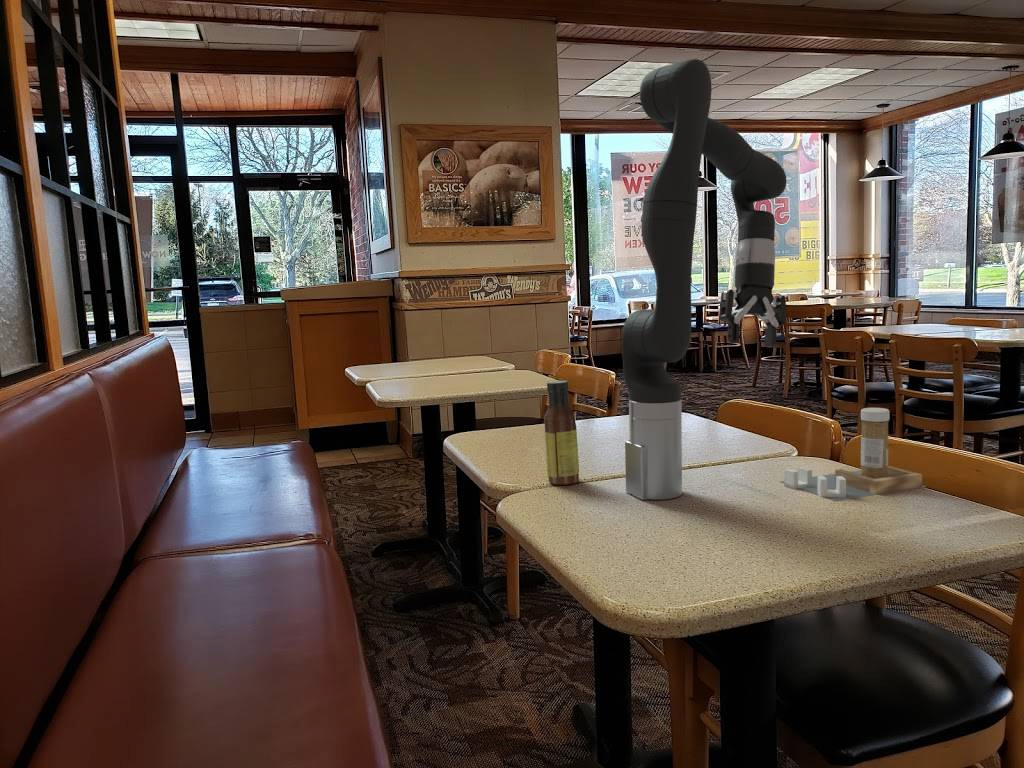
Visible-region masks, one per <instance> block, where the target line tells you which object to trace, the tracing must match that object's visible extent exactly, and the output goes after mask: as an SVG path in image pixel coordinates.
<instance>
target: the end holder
mask: <svg viewBox="0 0 1024 768" xmlns="http://www.w3.org/2000/svg"><path fill="white" fill-rule="evenodd" d="M887 470H888V472H887V475H888V476H887V477H886V478H879V479H874V478H870V477H867V476H863V475H860V474H856V473H853V472H850V471H849V470H846V469H841V468H840V469H839V468H838V469H837V468H836V469H835V471H834V474H835V482H836V476H843V477H844V478H845V479H846V485H848V486H851V487H854V488H857V489H861V490H864V491H867V492H870V493H873V494H878V495H880V494H879V493H885V492H891V493H893V492H892V491H898V490H904V491H906V490H905V489H911V488H917V487H922V485H923V474H922V473H918V472H914V471H911V470H908V469H907V470H906V469H903V468H900V467H895V466H891V465H888V468H887ZM917 489H918V488H917ZM911 490H912V489H911ZM898 492H899V491H898ZM885 494H886V493H885Z"/></svg>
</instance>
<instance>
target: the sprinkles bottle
mask: <svg viewBox="0 0 1024 768" xmlns="http://www.w3.org/2000/svg"><path fill="white" fill-rule="evenodd" d="M860 419H861V421H860V422H861V436H860V470H861V475H863V476H867V477H870V478H874V479H879V478H886V477H887V476H888V475H887V472H888V470H887V468H888V466H889V422H890V419H891V418H890V410H889V409H888V408H885V407H884V408H883V407H865V408H861V409H860Z"/></svg>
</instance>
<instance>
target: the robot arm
mask: <svg viewBox="0 0 1024 768" xmlns="http://www.w3.org/2000/svg"><path fill="white" fill-rule="evenodd" d="M712 92H713V91H712V79H711V73H710V70H709V68H708V66H707V65H706V63H705V62H704V61H702V60H701V59H697V58H694V59H693V58H692V59H686V60H682V61H679V62H674V63H671V64H669V65H668V64H667V65H665V66H661V67H658V68H655V69H653V70H651V71H648V72H647V73H646V74H645V76H643V78H642V81H641V82H640V85H639V99H640V100H639V101H640V104H641V107H642V109H643V111H644V113H645V114H646V116H647V117H648V118H649V119H650V120H651V121H652V122H654V123H656V124H657V125H658V126H660V127H661V128H663V129H665V130H666V131H668V132H670V133H671V134H672V137H671V140H670V142H669V143H670V144H669V146H668V148H667V151H666V153H665V154H664V157H662V160H661V161H660V163H659V165H658V167H657V169H656V170H655V172H654V174H653V175H652V177H651V179H650V181H649V182H648V185H647V187H646V189H645V192H644V195H643V196H644V197H643V203H642V214H641V230H640V231H641V237H642V242H643V245H644V248H645V250H646V251H645V252H646V253H647V256H648V258H649V260H650V262H651V265H652V268H653V271H654V273H655V280H656V283H655V284H656V292H655V293H656V294H655V306H654V309H653V308H650V309H638V310H635V311H633V312H632V313H630V314H629V315H628V316H627V318H626V320H625V322H624V323H623V327H622V333H621V356H622V367H623V378H624V379H623V380H624V383H625V384H624V385H625V386H626V389H627V392H628V414H629V415H628V425H629V426H628V427H629V430H628V431H629V433H628V434H629V440H625V441H624V442H625V443H624V452H625V453H624V454H625V460H624V461H625V462H624V463H625V492H626V493H628V494H629V495H631V494H632V495H631V496H634V497H636V498H638V499H640V500H670V499H676V498H678V497H680V496H681V495H682V494H683V467H682V466H683V461H682V460H683V459H682V458H683V456H682V455H683V450H682V449H683V448H682V447H683V445H682V443H683V442H682V440H683V437H682V432H683V431H682V430H683V428H682V424H683V423H682V422H683V421H682V419H683V418H682V417H683V416H682V412H683V411H682V408H683V407H682V387H681V384H680V383H679V382H678V381H677V380H676V379H674V378H673V377H671V375H669V373H668V372H667V371H666V369H665V363H667V364H668V363H669V364H672V363H677V362H678V361H680V360H681V359H683V358H684V356H685V355H686V353H687V351H688V349H689V347H690V342H691V337H692V270H693V268H692V267H693V254H694V253H693V252H694V240H695V233H696V232H695V231H696V224H697V223H696V222H697V213H698V212H697V211H698V198H699V197H698V196H699V195H698V194H699V182H700V181H699V180H700V171H701V164H702V163H701V162H702V155H703V157H705V158H706V159H707V160H708V161H709V162H710V163H711V164H712V165H713V166H714V167H715V168H716V169H717V170H718V171H719V172H720V173H721V174H722V175H723V176H724V177H725V178H726V179H728V180H730V181H731V182H730V192H731V197H732V200H733V204H734V208H735V212H736V213H735V214H736V217H737V219H736V220H737V224H738V225H737V226H738V227H737V247H736V251H735V264H734V265H735V268H734V269H735V270H734V287H735V288H736V289H735V290H733V289H727V290H723V291H721V293H720V302H719V303H720V305H719V317H718V319H719V320H720V321H722V322H725V323H726V324H727V340H728V342H729V344H731V345H732V344H739V341H740V324H739V322H741V320H742V318H743V317H744V316H748V315H751V316H755V317H757V316H758V317H759V319H760V320H761V321H762V322H763V324H764V325H765V327H766V328H765V329H764V347H765V348H772V347H775V344H776V343H777V333H778V332H777V330H778V327H781V326H785V325H786V324H787V298H786V296H785V295H779V296H774V295H773V292H772V291H773V288H774V287H775V273H776V272H775V269H776V268H775V267H776V249H775V235H776V231H775V230H776V218H775V214H774V213H772V212H770V211H768V210H757V209H756V208H755V203H756V202H762V201H769V200H773V199H776V198H779V197H780V196H781V195H782V194H783V193H784V191H785V190H786V186H787V184H788V183H787V176H786V175H787V174H786V172H785V169H784V168H783V167H782V165H781V164H779V162H777V161H776V160H774V159H773V158H771V157H769V156H768V155H766V154H764V153H763V152H760V151H758V150H755V149H754V148H753V147H752V146H751V145H750V144H749V143H748V142H747V141H746V139H745V137H743V136H742V135H741V134H740V133H739V132H738V131H736V130H735V129H733V128H732V127H730V126H728V125H727V124H724V123H723V122H719V121H717V120H714V119H713V118H711V117H709V113H710V109H711V103H712V102H711V101H712ZM734 301H735V303H736V305H735V306H734V307H733V305H734Z"/></svg>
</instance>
